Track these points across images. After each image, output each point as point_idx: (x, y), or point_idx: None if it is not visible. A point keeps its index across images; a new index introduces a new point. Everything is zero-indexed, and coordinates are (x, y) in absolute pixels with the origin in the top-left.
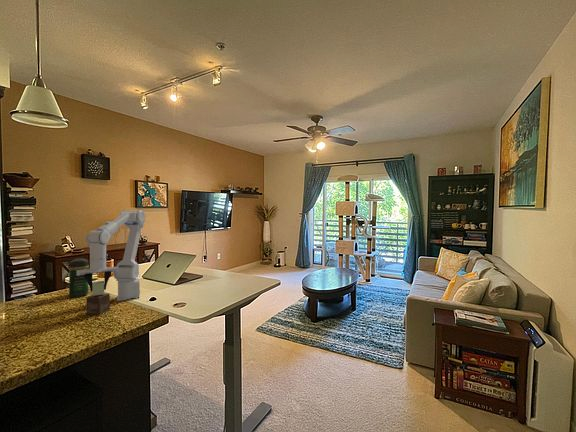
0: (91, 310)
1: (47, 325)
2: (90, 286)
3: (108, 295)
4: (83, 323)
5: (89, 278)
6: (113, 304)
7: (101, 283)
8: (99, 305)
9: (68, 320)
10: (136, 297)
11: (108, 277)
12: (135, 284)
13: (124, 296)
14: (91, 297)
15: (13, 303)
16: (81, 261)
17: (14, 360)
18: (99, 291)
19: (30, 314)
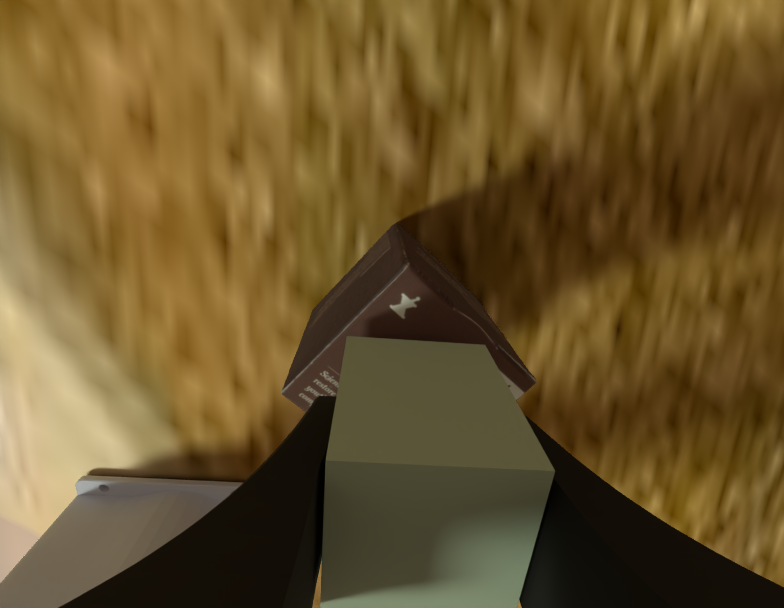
0: (458, 282)
1: (751, 205)
2: (561, 452)
3: (298, 367)
4: (535, 56)
5: (736, 605)
6: (283, 430)
7: (377, 453)
8: (400, 241)
9: (614, 231)
10: (101, 483)
11: (167, 560)
12: None
13: (188, 511)
14: (489, 339)
15: None
16: None
17: None
18: (405, 365)
19: (759, 507)
